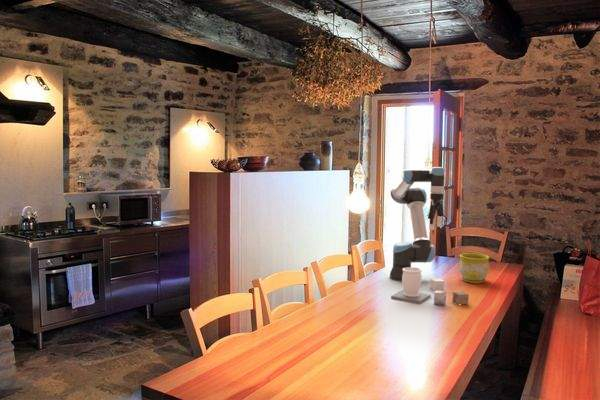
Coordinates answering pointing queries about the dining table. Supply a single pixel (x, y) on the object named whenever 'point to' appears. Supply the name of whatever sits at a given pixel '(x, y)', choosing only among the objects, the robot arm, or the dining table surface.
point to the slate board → (418, 299)
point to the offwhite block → (437, 284)
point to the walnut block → (460, 297)
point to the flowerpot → (474, 267)
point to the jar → (411, 281)
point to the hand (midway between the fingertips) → (435, 228)
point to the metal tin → (440, 298)
